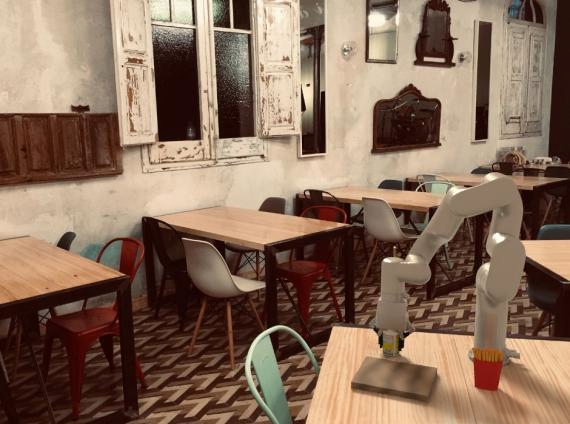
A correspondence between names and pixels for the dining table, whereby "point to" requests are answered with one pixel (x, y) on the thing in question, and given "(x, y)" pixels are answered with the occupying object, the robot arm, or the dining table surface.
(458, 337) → the dining table surface
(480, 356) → the french fries
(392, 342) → the supplement bottle
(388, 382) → the walnut board
